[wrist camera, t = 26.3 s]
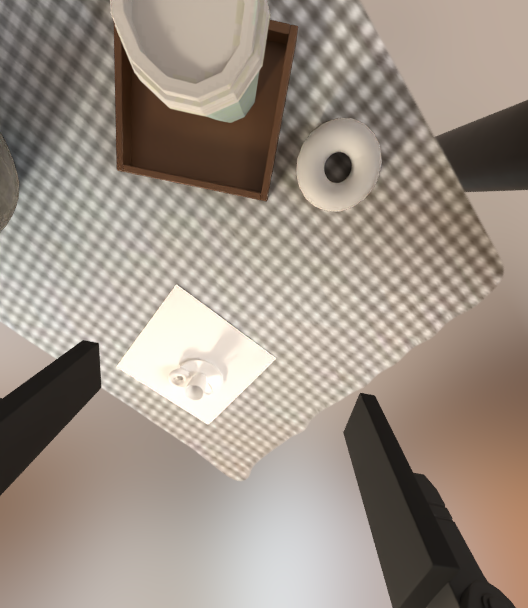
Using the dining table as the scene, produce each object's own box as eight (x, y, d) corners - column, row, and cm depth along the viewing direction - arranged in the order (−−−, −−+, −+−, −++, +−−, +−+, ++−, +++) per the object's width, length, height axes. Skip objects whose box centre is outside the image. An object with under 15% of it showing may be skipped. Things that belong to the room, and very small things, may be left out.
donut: (279, 167, 33) (328, 227, 35) (279, 163, 30) (332, 229, 32) (343, 101, 30) (392, 171, 33) (350, 89, 27) (404, 167, 29)
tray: (296, 40, 28) (298, 25, 26) (267, 201, 35) (266, 201, 32) (126, 2, 28) (112, -17, 26) (127, 172, 34) (116, 170, 32)
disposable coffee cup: (290, 64, 29) (301, -62, 15) (249, 163, 33) (227, 136, 19) (201, 9, 27) (122, -186, 14) (168, 119, 31) (81, 55, 17)
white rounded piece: (166, 376, 46) (156, 391, 42) (190, 346, 44) (182, 360, 40) (206, 402, 48) (200, 419, 44) (232, 375, 45) (228, 391, 42)
